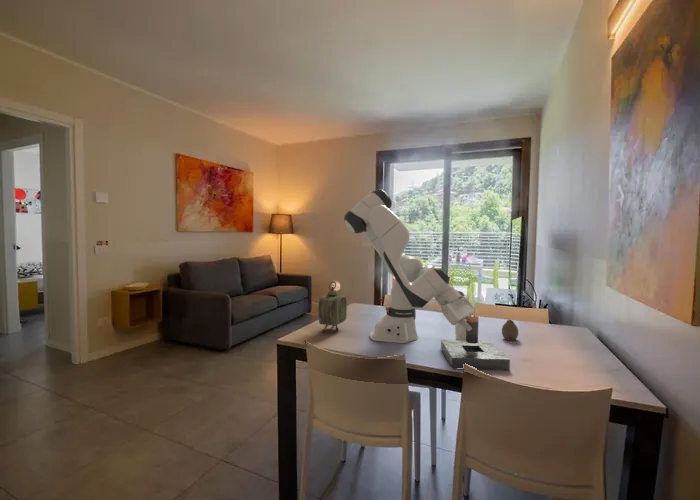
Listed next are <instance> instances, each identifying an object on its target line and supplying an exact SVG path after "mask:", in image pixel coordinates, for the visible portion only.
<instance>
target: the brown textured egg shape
mask: <svg viewBox="0 0 700 500" xmlns="http://www.w3.org/2000/svg"><path fill="white" fill-rule="evenodd" d="M501 335H502V337H503V338H504V340H506V341H513V342H514V341H516V340H517V338H518V337H519V328H518V326H517V325H516V323H515V322H514V320H512V319H507V320H506V322H505V323H504V324H503V325H502V328H501Z"/></svg>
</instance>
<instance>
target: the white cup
mask: <svg viewBox="0 0 700 500" xmlns="http://www.w3.org/2000/svg"><path fill="white" fill-rule="evenodd" d="M465 320H466V319H465ZM454 331H455V332H454V333H455V340H466V328H465V327H463V326H462V325H461V324H460V323H457V324H455V325H454Z"/></svg>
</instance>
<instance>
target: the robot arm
mask: <svg viewBox="0 0 700 500" xmlns="http://www.w3.org/2000/svg"><path fill="white" fill-rule="evenodd" d="M392 204H393V202H392V199H391V197H390V196H389V194H388V192H386V191H385V190H384V189H380V188H378V189H375V190H373V191H371V193H369V194H367V195H366V196H365V197H363V198H362V199H360V200H359V202H358V203H356V204H355V205H354V206H353V207H352V208H351V209H350V210H347V212H346V213H345V215H344V216H343V220H344V223H345V225H346V227H347V229H348V230H349V231H350V232H353V234H362V233H363V235H364V236H365V237H366V238H367V240H368V242H369V243H370V244H371V246H372V247H373V248H374V250H375V251H376V253H378V255H379V257H380V259H381V261H382V263H383V265H384V267H385V269H386V271H387V272H388V273H389V274H390V275H391V276H393V277H394V283H393V287H392V288H391V290H390V306H389V305H386V306H385V307H384V308H385V311H386V314H385V315H384V316H383V317H381V318H380V319H379V320H378V319H377V321H376V323H375V326H374V329H373V330H371V332H370V333H369V338H370V339H371V340H372V341H374V342H375V341H376V342H383V343H384V342H386V343H395V344H396V343H399V344H407V343H409V342H412V341H415V340H418V338H419V335H418V333H417V328H416V327H417V326H416V318H417V317H416V311H417V310H416V308H417V309H422V308H424V307H425V306H426V305H427V304H428V303H429V302H430V301H431V300H432V299H434V300H435V301H436V303H438V304H439V306H440V309H441V312H442V314H443V316H444V317H445V318H446V320H447V321H448V323H449V324H450V325H452V326H455V324H457V323H460V324H461V325H462V326H463V327H465V328H466V329H467V330H468V331H470V330H472V329H473V327H472V326H471V325H469V324H468V323H467V322H466V320H465V319H466V317H467V316H468V315H469V313H471V315H474V313H475V314H476V312H477V311H476V309H475V307H474V305H473V304H472V303H471V302H470V301H469V299H468V298H467V297H466V294H465V293H464V292H463V291H460V290H457V289H455V287H454V286H453V285H451V284H450V278H451V277H450V276H449V274H447V273H446V272H445V271H444V270H443V268H442V267H441V266H436V265H435V266H433V265H432V264H427V265H425V266H423V264H422V262H421V261H420V259H418V258H417V257H415V256H413V255H408V254H405V253H404V251H405V250H406V247H407V246H408V243H409V241H410V231H409V229H408V228H407V226H406V225H405V223H403V221H402V220H401V219H400V217H398V215H397V214H396V213H394V211H392V210H391V208H392Z"/></svg>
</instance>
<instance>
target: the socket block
mask: <svg viewBox="0 0 700 500" xmlns="http://www.w3.org/2000/svg"><path fill="white" fill-rule="evenodd" d="M440 341H441V342H440V349H442V350H441V351H442V353H443V355H444V357H445V358H447V359H446V361H447V363H448V364H449V366H450V365H451V366H450V367H452V368H463V364H465V363H466V364H468V365H470V366H473V367H475V368H477V369H480V371H481V370H483V371H507V372H508V371H510V370H511V369H510V367H511V366H510V365H511V362H510V361H511V359H510V358H509V357H508V356H507V355H505V354H504V352H503V351H501V350H500V348H498V347H497V345H496V344H494V343H493V342H492V341H491V340H478V343H476V344H472V343H468V342H466V340H456V339H441V340H440ZM452 368H451V369H452Z"/></svg>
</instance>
